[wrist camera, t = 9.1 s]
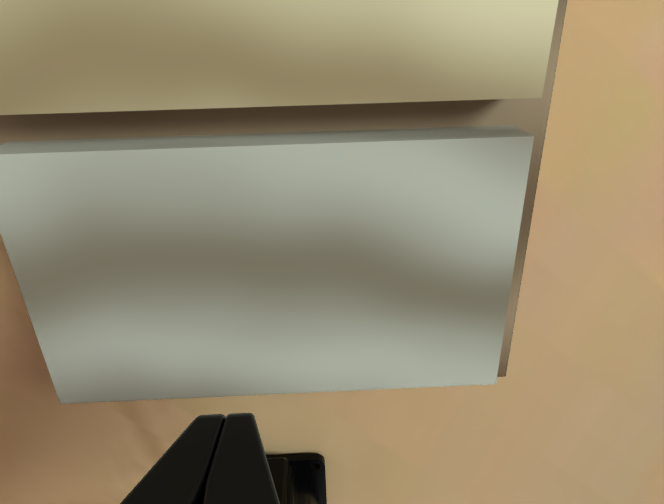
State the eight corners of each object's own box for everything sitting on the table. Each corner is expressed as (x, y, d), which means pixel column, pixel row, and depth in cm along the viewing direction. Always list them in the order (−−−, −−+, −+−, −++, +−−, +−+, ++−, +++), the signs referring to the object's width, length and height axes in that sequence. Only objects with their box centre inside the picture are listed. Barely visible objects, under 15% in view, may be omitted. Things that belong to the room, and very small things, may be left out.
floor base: (465, 303, 22) (521, 405, 16) (112, 318, 22) (37, 428, 16) (559, -545, 12) (811, -1128, 6) (-115, -545, 11) (-583, -1167, 5)
